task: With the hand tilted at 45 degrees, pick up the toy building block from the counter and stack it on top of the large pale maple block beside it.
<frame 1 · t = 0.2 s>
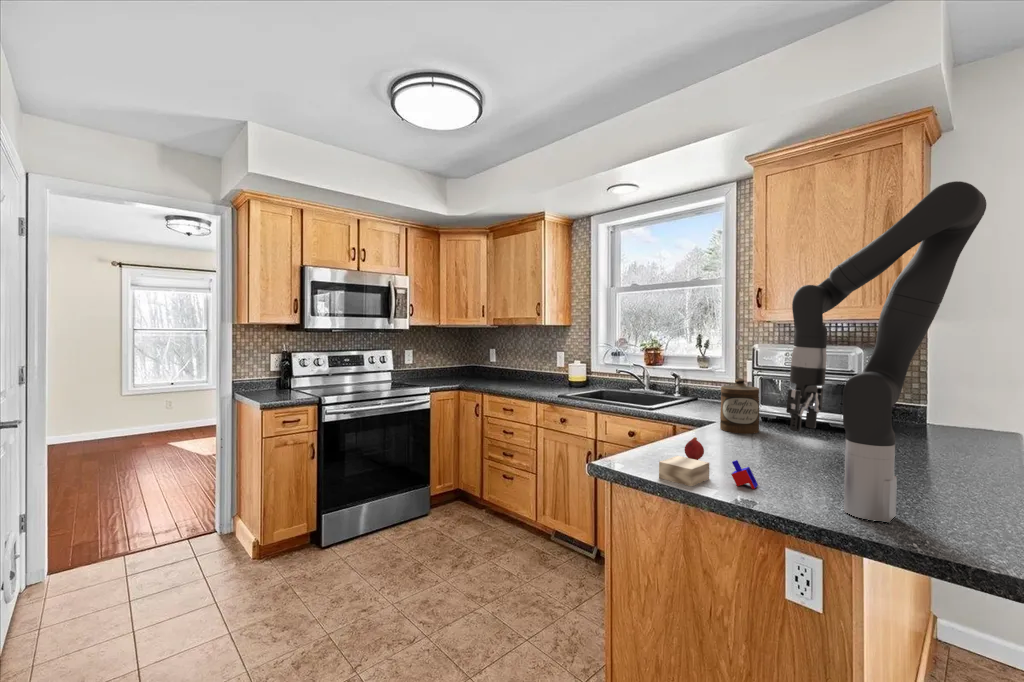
hand: (803, 429, 123), 18 cm above the worktop, tool pointing down, fingers open, 8 cm apart
maple block: (684, 479, 140), on the worktop
toy building block: (744, 486, 134), on the worktop
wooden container: (739, 430, 205), on the worktop
onion: (693, 462, 157), on the worktop
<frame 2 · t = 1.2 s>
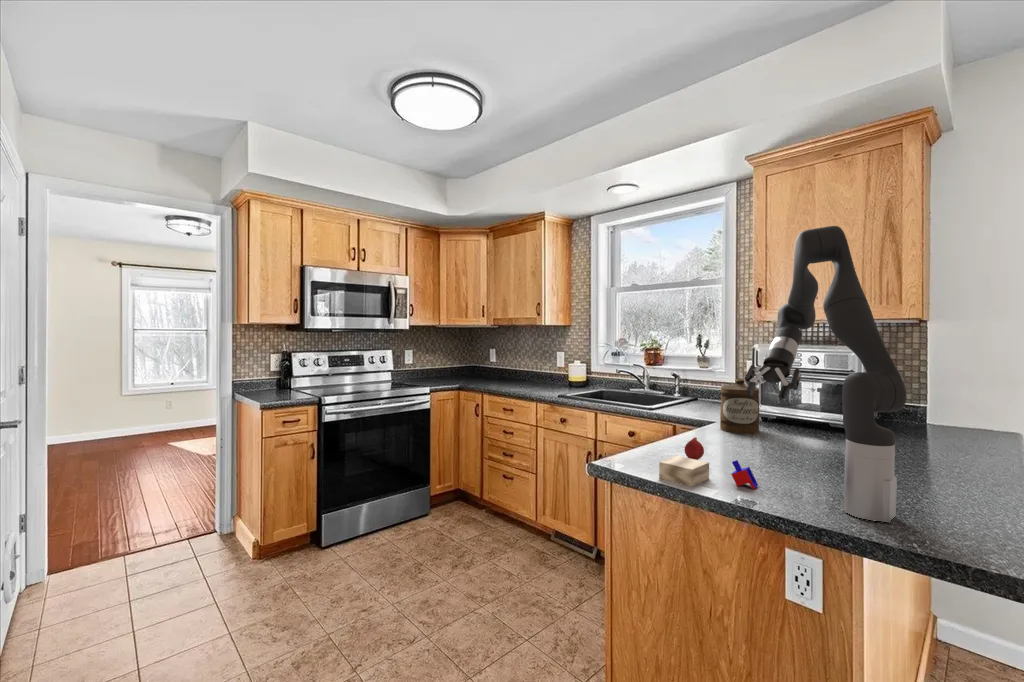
hand: (765, 396, 142), 23 cm above the worktop, tool tilted 45°, fingers open, 8 cm apart
nothing on the worktop moved.
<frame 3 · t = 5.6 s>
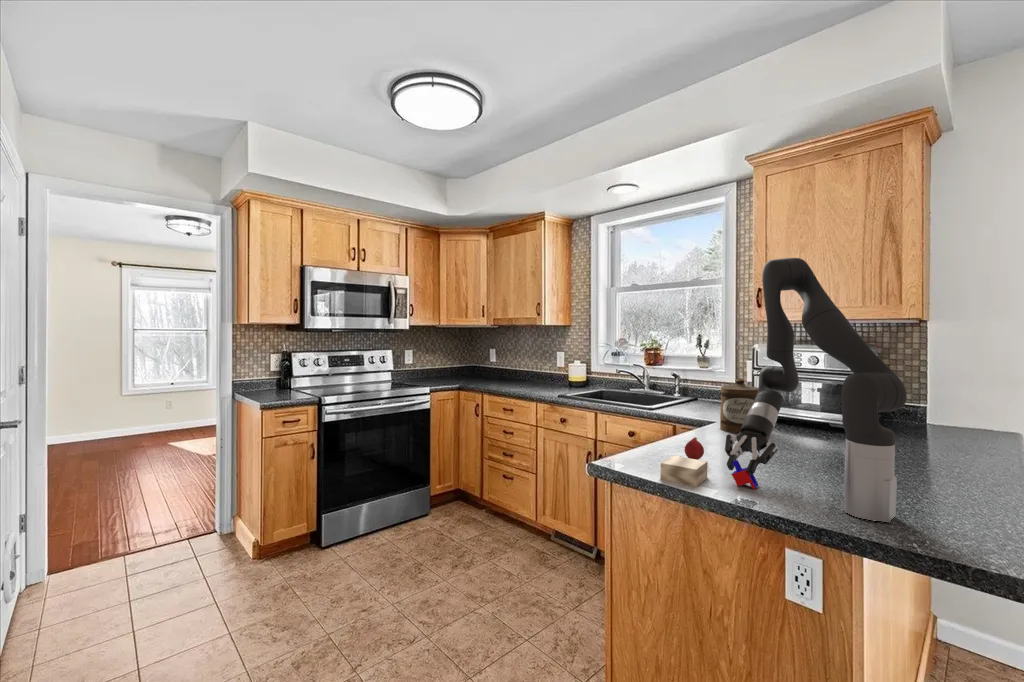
hand: (739, 470, 133), 4 cm above the worktop, tool tilted 45°, fingers closed on toy building block, 4 cm apart
toy building block: (744, 486, 134), on the worktop, touching gripper
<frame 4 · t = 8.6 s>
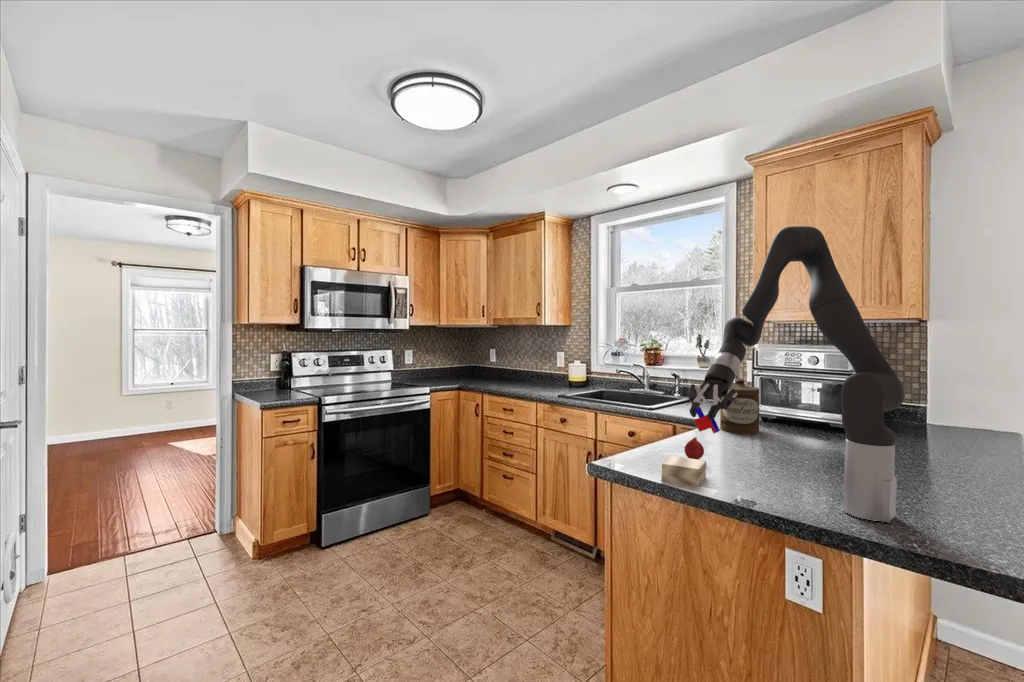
hand: (700, 416, 137), 18 cm above the worktop, tool tilted 45°, fingers closed on toy building block, 4 cm apart
toy building block: (706, 431, 138), point 14 cm above the worktop, touching gripper
when the fingers open (10 cm above the worktop, at t = 11.2 s): toy building block drops 1 cm, resting on maple block.
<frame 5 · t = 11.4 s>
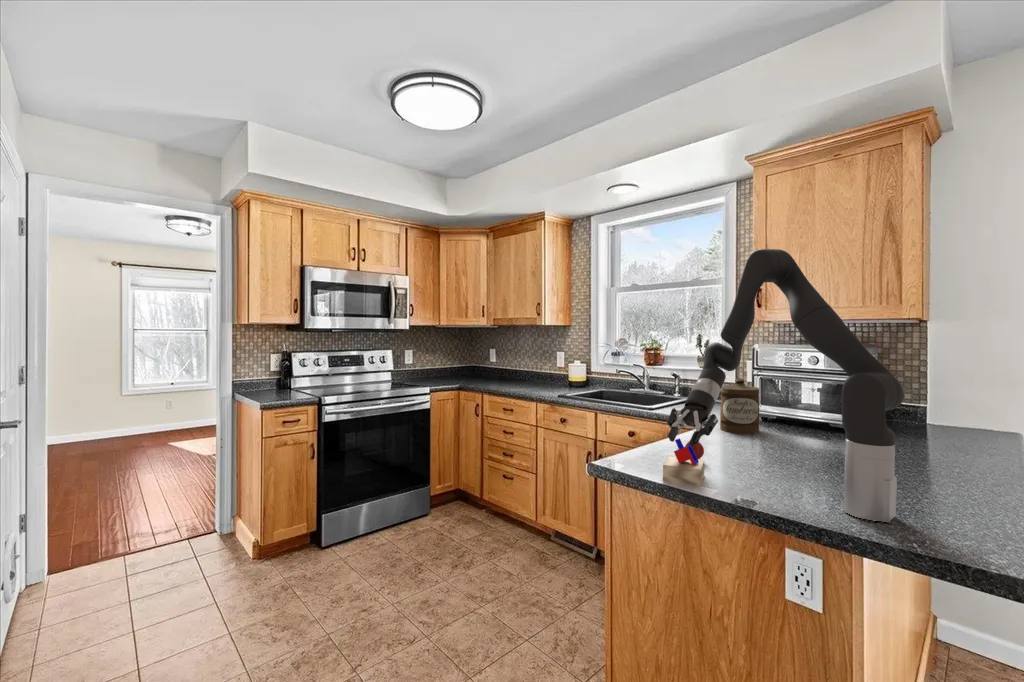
hand: (681, 442, 138), 11 cm above the worktop, tool tilted 45°, fingers open, 6 cm apart
maple block: (683, 479, 140), on the worktop, touching toy building block
toy building block: (685, 463, 139), point 4 cm above the worktop, touching maple block
everything else where it was.
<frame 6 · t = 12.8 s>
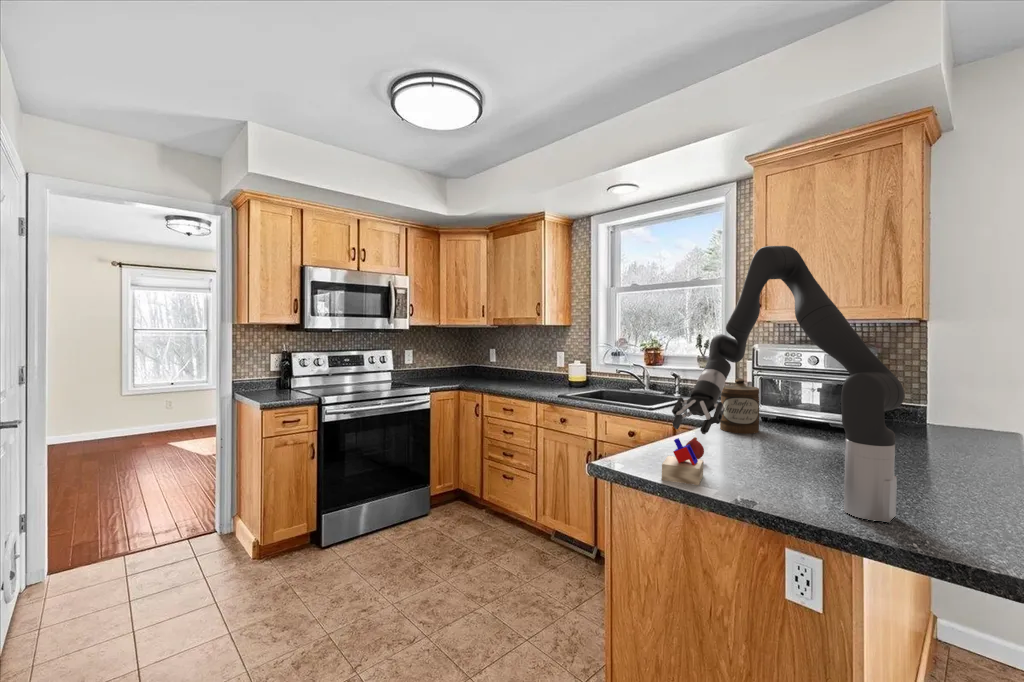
hand: (688, 430, 141), 14 cm above the worktop, tool tilted 45°, fingers open, 8 cm apart
nothing on the worktop moved.
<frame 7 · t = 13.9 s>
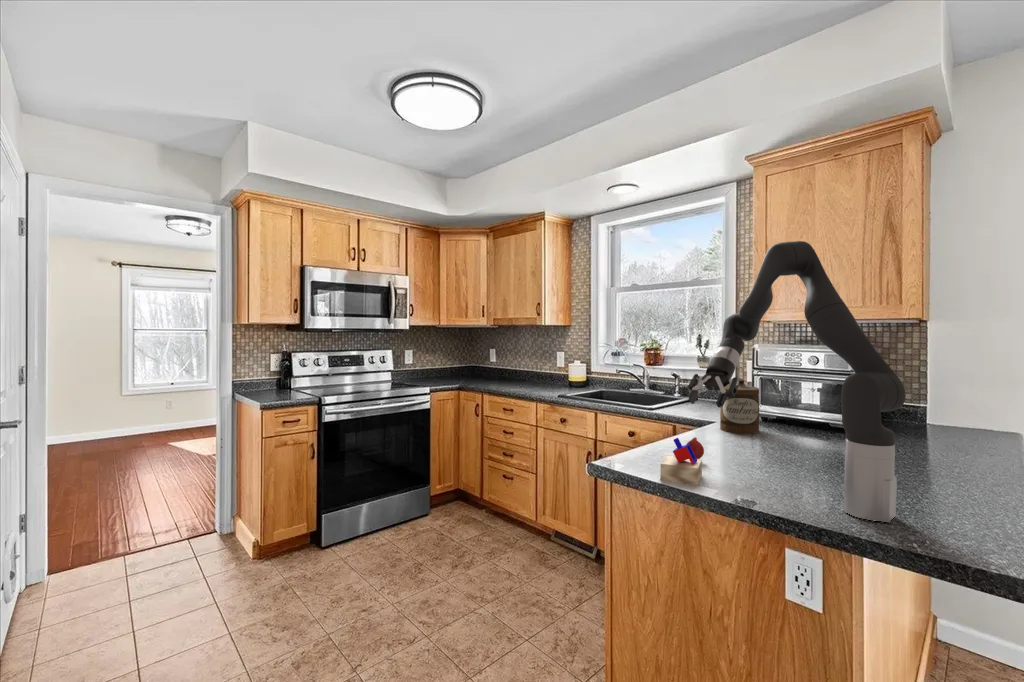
hand: (704, 403, 146), 20 cm above the worktop, tool tilted 45°, fingers open, 8 cm apart
nothing on the worktop moved.
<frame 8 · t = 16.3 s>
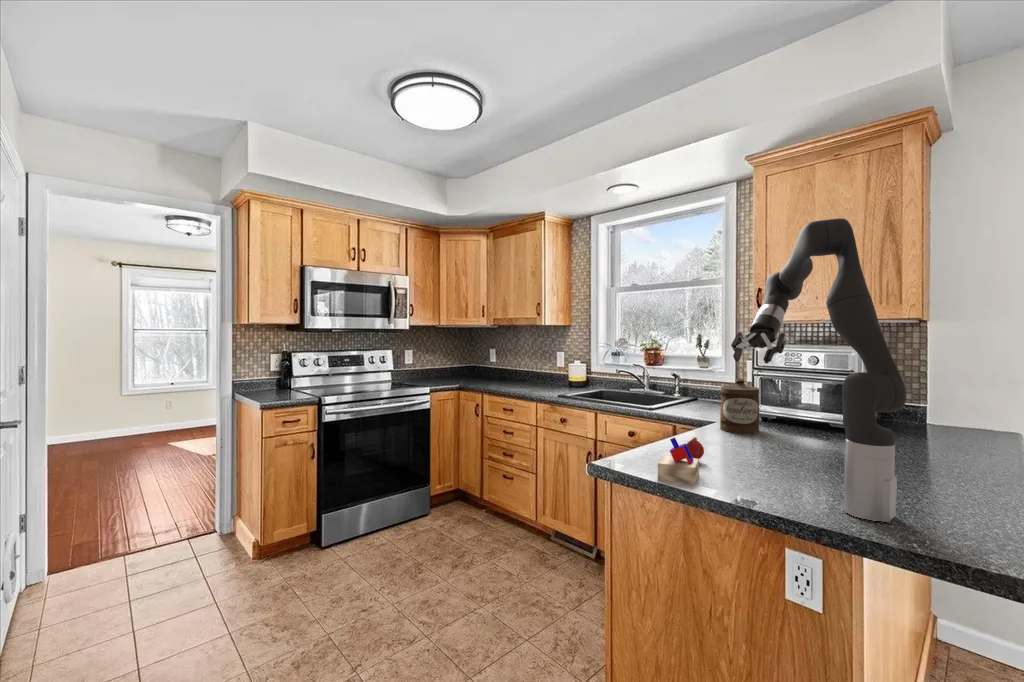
hand: (750, 360, 143), 34 cm above the worktop, tool tilted 45°, fingers open, 8 cm apart
at the end: toy building block inside the target area on the maple block (0.8 cm from its centre), point 4.8 cm above the maple block's base; toy building block tilted 3°; the gripper is holding nothing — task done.
